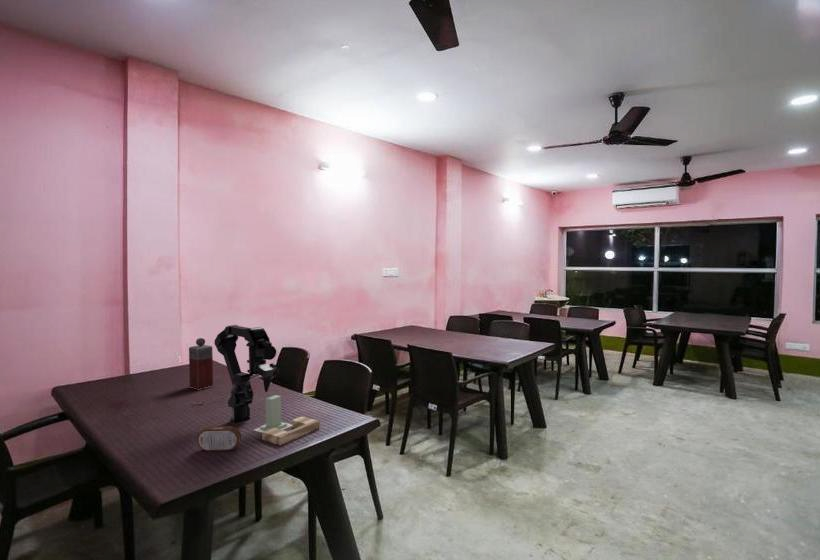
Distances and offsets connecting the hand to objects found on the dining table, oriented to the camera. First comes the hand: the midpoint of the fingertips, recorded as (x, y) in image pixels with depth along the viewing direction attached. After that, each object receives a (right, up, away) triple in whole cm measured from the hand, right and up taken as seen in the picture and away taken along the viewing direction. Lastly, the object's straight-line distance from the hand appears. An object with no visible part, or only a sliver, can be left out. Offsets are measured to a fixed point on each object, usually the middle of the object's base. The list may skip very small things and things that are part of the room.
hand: (257, 394), depth 173 cm
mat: (+8, -13, -3) cm, 16 cm away
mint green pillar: (+8, -13, -3) cm, 15 cm away
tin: (-5, -14, -23) cm, 28 cm away
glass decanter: (-55, -13, +61) cm, 83 cm away
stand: (+16, -13, -9) cm, 23 cm away
